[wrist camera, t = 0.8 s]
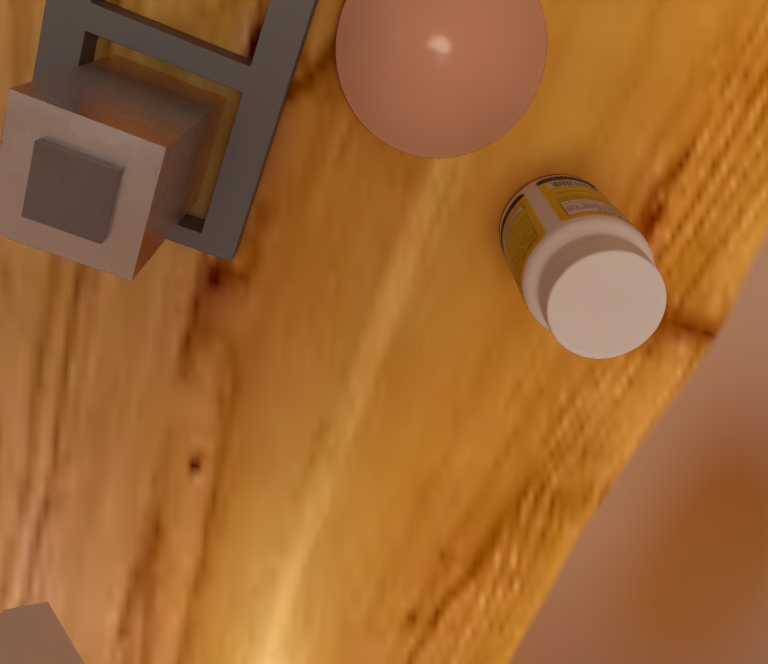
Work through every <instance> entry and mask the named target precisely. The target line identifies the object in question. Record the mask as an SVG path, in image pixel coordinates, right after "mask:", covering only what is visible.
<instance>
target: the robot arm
mask: <svg viewBox="0 0 768 664" xmlns="http://www.w3.org/2000/svg"><path fill="white" fill-rule="evenodd" d="M0 664H84V662H83V661H82V659H81V657H80V655H79V654H78V652H77V650H76V649H75V647H74V645H73V644H72V642H71V640H70V639H69V637H68V635H67V634H66V632H65V630H64V629H63V627H62V625H61V623H60V622H59V620H58V618H57V617H56V615H55V613H54V612H53V610H52V608H51V607H50V605H49V603H48V602H44V603H39V604H33V605H28V606H22V607H17V608H11V609H6V610H3V611H2V613H1V615H0Z"/></svg>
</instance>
